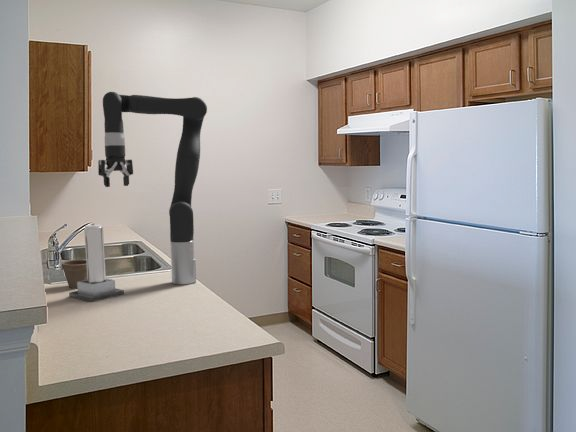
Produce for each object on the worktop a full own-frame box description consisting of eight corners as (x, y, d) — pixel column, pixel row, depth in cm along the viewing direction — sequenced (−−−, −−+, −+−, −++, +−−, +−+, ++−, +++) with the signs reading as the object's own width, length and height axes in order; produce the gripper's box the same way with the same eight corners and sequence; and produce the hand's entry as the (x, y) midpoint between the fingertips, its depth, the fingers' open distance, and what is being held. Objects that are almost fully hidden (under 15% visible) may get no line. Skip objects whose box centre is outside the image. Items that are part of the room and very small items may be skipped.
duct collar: (102, 289, 211) (101, 275, 210) (124, 294, 203) (123, 279, 202) (69, 296, 200) (68, 282, 199) (90, 302, 191) (90, 286, 191)
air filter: (106, 292, 199) (102, 225, 197) (87, 294, 197) (83, 226, 195) (106, 288, 205) (102, 223, 203) (88, 290, 203) (84, 224, 201)
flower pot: (99, 284, 220) (98, 259, 219) (80, 290, 209) (79, 265, 208) (75, 282, 224) (74, 258, 223) (56, 289, 213) (55, 263, 212)
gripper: (124, 145, 217) (126, 185, 219) (93, 144, 206) (95, 187, 208) (136, 144, 213) (137, 185, 215) (104, 144, 202) (106, 187, 203)
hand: (116, 186), depth 211 cm, fingers open, 8 cm apart
